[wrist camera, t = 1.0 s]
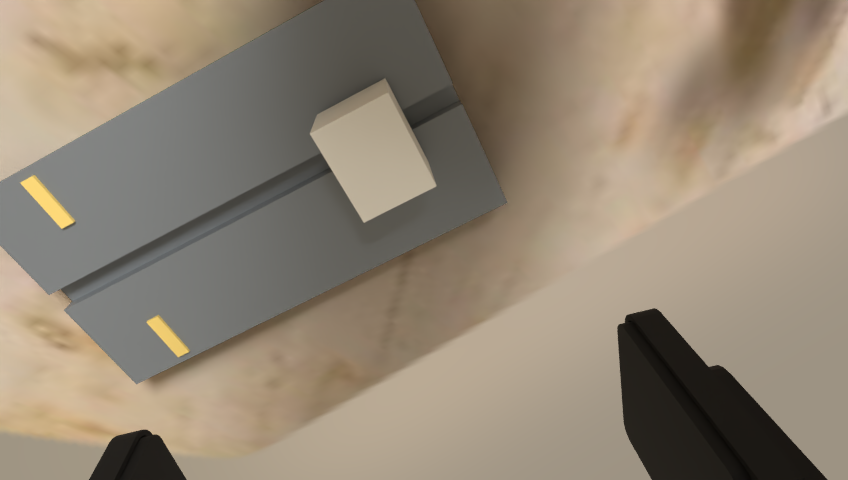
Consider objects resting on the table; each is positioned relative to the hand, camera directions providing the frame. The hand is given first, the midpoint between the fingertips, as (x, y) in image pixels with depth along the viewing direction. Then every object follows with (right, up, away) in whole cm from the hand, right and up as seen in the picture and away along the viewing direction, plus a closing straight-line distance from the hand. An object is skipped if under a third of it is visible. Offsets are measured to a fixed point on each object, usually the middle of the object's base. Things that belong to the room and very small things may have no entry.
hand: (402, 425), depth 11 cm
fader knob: (-2, +10, +19) cm, 21 cm away
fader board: (-10, +7, +21) cm, 24 cm away
